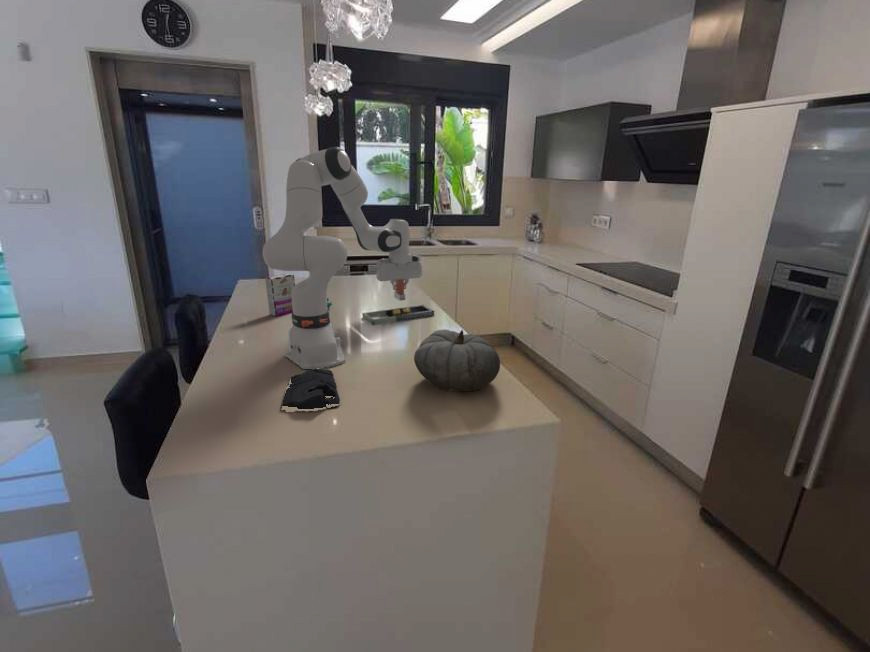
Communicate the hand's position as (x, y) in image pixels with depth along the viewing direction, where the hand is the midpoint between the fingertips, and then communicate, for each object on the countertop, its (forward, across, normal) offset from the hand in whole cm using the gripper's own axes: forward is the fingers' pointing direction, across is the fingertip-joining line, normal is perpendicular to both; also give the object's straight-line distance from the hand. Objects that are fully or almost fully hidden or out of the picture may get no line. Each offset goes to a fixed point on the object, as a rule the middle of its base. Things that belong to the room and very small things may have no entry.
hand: (399, 289), depth 197 cm
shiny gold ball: (+9, -6, -10) cm, 15 cm away
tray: (+10, -13, -10) cm, 19 cm away
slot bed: (+10, 0, -10) cm, 14 cm away
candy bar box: (+10, -46, +19) cm, 51 cm away
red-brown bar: (+4, 0, 0) cm, 4 cm away
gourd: (+12, -14, -72) cm, 74 cm away
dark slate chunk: (+12, -53, -60) cm, 81 cm away
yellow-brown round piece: (+9, -1, -10) cm, 14 cm away
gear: (+10, -32, +15) cm, 37 cm away
